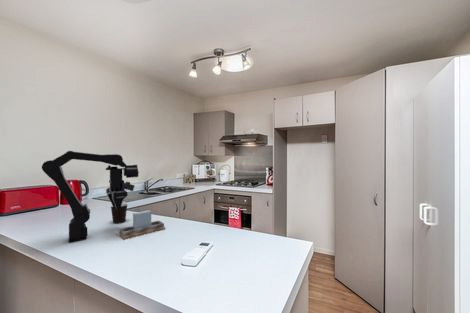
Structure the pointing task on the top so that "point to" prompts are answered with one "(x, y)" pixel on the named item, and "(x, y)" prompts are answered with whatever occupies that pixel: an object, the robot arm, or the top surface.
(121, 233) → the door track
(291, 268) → the top surface
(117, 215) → the coffee mug
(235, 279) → the top surface
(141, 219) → the grey flat block
